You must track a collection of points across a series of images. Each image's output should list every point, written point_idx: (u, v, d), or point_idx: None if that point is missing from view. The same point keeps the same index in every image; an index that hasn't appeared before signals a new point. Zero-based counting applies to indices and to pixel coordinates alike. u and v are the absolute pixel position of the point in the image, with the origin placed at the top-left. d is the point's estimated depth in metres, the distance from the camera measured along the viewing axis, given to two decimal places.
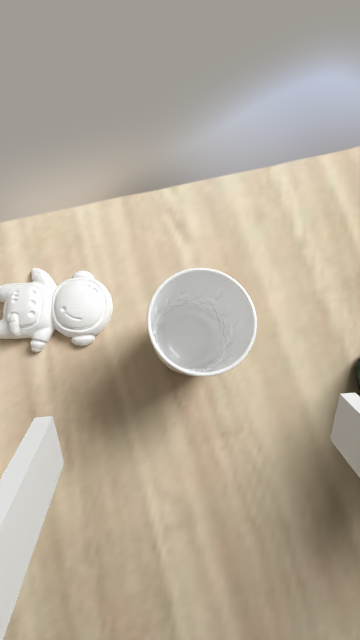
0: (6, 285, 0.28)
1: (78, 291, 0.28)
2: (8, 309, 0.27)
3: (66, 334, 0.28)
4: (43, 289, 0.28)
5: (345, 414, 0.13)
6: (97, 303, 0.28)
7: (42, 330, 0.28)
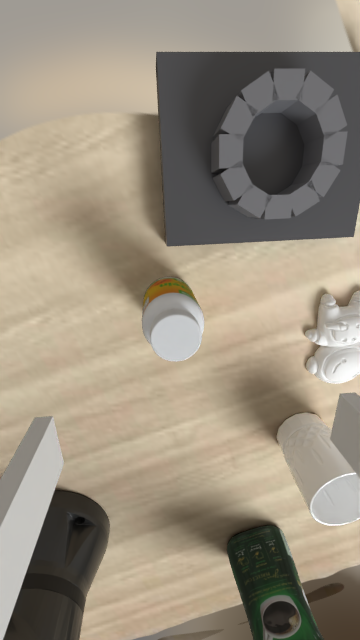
0: None
1: (357, 368, 0.34)
2: (350, 321, 0.31)
3: (319, 358, 0.34)
4: None
5: (345, 414, 0.13)
6: (343, 380, 0.35)
7: (325, 342, 0.33)
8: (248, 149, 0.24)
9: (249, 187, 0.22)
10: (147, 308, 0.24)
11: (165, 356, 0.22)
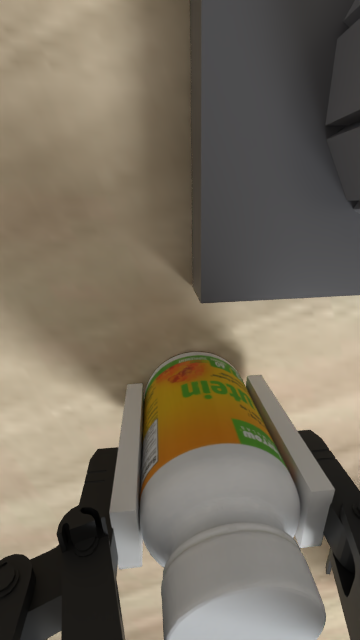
0: None
1: None
2: None
3: None
4: None
5: (249, 393, 0.14)
6: None
7: None
8: None
9: None
10: (154, 489, 0.09)
11: None
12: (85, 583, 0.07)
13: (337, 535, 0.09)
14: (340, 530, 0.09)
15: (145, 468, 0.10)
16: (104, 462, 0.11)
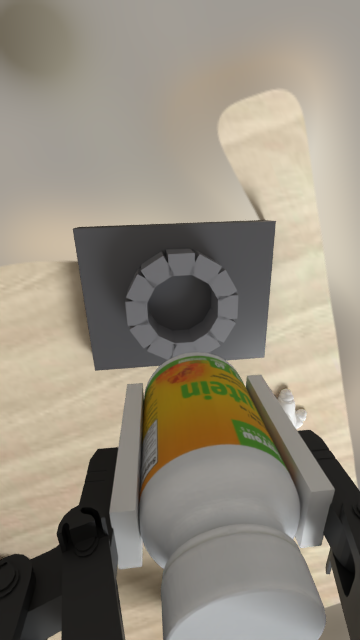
0: (293, 406, 0.35)
1: None
2: None
3: None
4: None
5: (249, 393, 0.14)
6: None
7: None
8: (161, 295, 0.28)
9: (156, 338, 0.26)
10: (154, 490, 0.09)
11: None
12: (85, 583, 0.07)
13: (337, 535, 0.09)
14: (340, 530, 0.09)
15: (145, 469, 0.10)
16: (104, 462, 0.11)
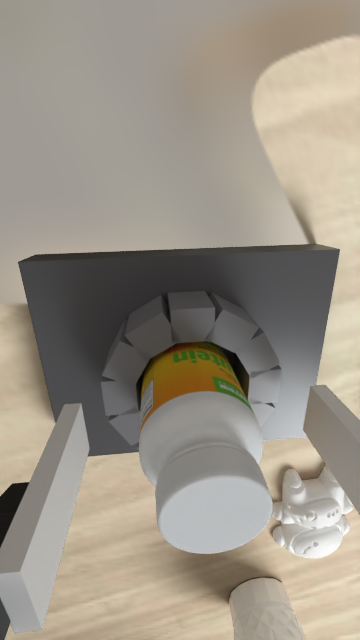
0: None
1: (332, 549, 0.28)
2: (319, 510, 0.25)
3: (286, 534, 0.28)
4: None
5: (314, 405, 0.14)
6: (317, 557, 0.29)
7: (292, 522, 0.27)
8: None
9: None
10: (151, 425, 0.11)
11: (190, 548, 0.10)
12: None
13: None
14: None
15: (143, 414, 0.13)
16: (14, 501, 0.09)
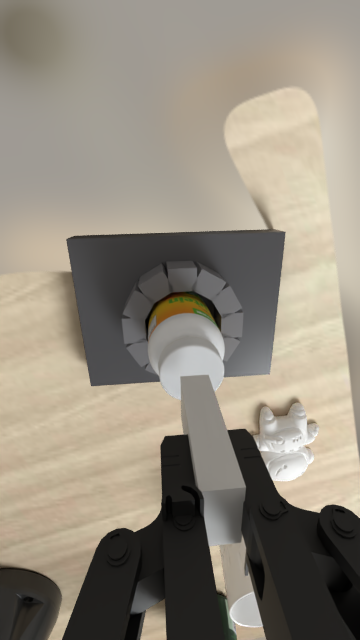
0: (305, 421, 0.34)
1: (298, 472, 0.36)
2: (286, 436, 0.33)
3: None
4: None
5: None
6: (287, 480, 0.37)
7: (267, 449, 0.35)
8: None
9: None
10: (154, 333, 0.19)
11: (178, 396, 0.18)
12: (184, 555, 0.07)
13: (249, 537, 0.09)
14: (250, 533, 0.09)
15: (150, 332, 0.20)
16: (175, 448, 0.11)
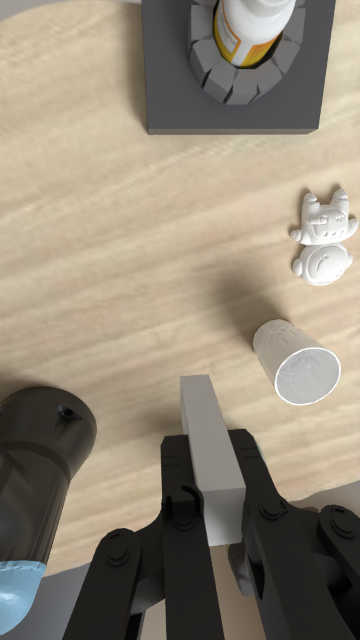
0: (348, 204, 0.35)
1: (338, 265, 0.37)
2: (330, 214, 0.34)
3: (304, 257, 0.37)
4: (342, 235, 0.36)
5: None
6: (327, 279, 0.38)
7: (309, 239, 0.36)
8: None
9: (218, 60, 0.25)
10: None
11: None
12: (184, 555, 0.07)
13: (249, 537, 0.09)
14: (250, 533, 0.09)
15: None
16: (175, 448, 0.11)
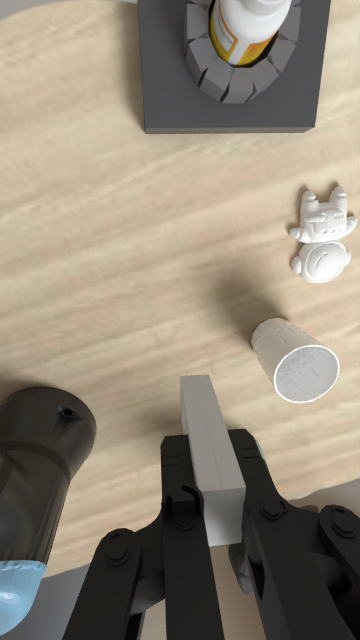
0: (346, 202, 0.35)
1: (337, 263, 0.37)
2: (328, 212, 0.34)
3: (303, 255, 0.37)
4: (340, 233, 0.36)
5: None
6: (326, 276, 0.38)
7: (308, 237, 0.36)
8: None
9: (214, 59, 0.25)
10: None
11: None
12: (184, 555, 0.07)
13: (249, 537, 0.09)
14: (250, 533, 0.09)
15: None
16: (175, 448, 0.11)
